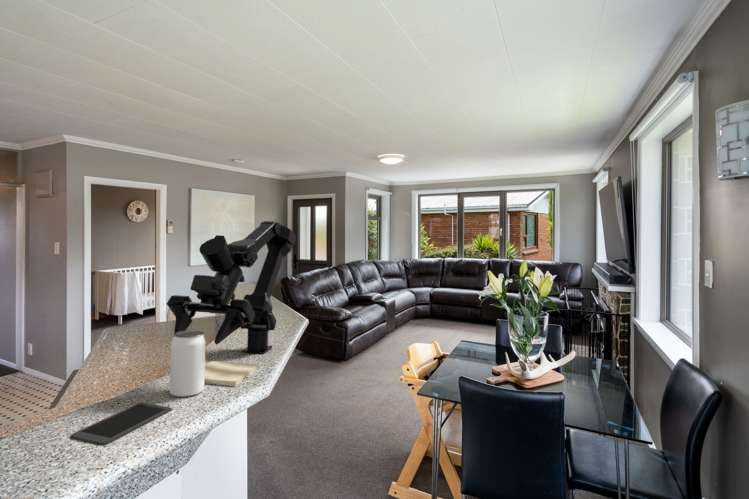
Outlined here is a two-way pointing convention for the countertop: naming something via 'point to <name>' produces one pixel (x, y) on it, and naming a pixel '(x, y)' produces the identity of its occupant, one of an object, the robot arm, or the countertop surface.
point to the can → (187, 363)
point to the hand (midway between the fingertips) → (195, 341)
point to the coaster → (228, 372)
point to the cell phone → (120, 423)
